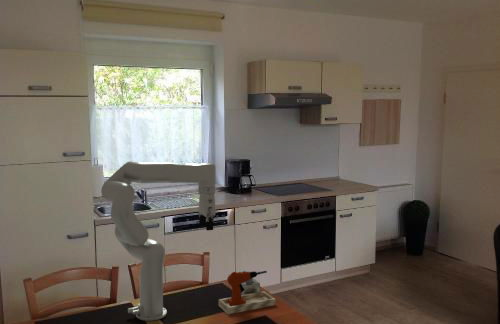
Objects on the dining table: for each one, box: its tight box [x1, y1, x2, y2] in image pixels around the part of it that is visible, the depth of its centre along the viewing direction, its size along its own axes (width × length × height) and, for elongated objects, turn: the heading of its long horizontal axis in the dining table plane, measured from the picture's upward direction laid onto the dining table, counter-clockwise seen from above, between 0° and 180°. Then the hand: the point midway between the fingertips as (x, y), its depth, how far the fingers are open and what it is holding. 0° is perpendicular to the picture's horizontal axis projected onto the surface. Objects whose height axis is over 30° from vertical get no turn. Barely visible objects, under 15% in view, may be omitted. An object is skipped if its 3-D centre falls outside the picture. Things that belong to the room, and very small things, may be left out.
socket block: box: [241, 277, 261, 295], centre depth 215 cm, size 8×8×6 cm
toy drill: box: [226, 270, 268, 306], centre depth 201 cm, size 5×19×15 cm, turn 107°
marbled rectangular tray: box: [218, 291, 276, 315], centre depth 202 cm, size 23×10×3 cm, turn 117°
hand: (206, 227), depth 208 cm, fingers open, 9 cm apart
